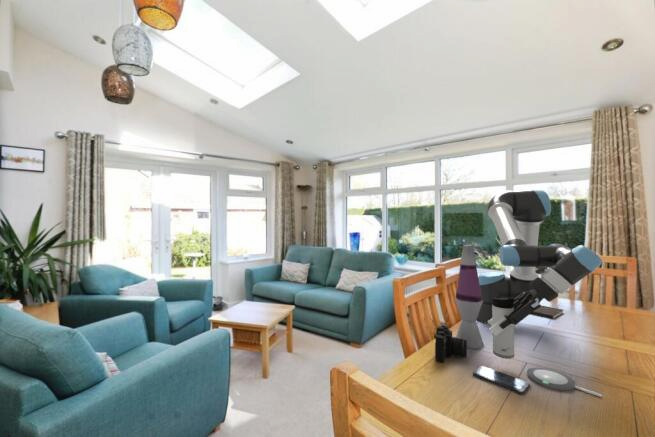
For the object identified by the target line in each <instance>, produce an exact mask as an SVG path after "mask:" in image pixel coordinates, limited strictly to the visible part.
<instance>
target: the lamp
mask: <svg viewBox="0 0 655 437" xmlns="http://www.w3.org/2000/svg"><path fill="white" fill-rule="evenodd" d="M459 264H460V265H459V274H458V279H457V285H456V286H457V287H456V292H455V298H454V300H455V303H456V307H457V308H458V311H459V315H460V316H461V321H460V324H459V327H458V329H457V334H456V338H459V339H464V340H467V349H474V350H475V349H481V348H483V347H485V343H484V340H483V338H482V334H481V331H480V329H479V328H480V327H479V325H478V322H477V316H478V314H479V311H480V308H481V305H482V303H483V301H482V296H481V290H480V284H479V279H478V277H479V275H478V270H477V268H478V267H477V261H476V256H475V250H474V245H473V244H463V245H462V250H461V258H460V263H459Z"/></svg>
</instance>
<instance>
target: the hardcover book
mask: <svg viewBox="0 0 655 437" xmlns="http://www.w3.org/2000/svg"><path fill="white" fill-rule="evenodd" d="M540 305H541V307H540V308H538V309H536V310H534V311H533V312H532V313H531V314H530V315H533V316H538V317H541V318H546V319H551V320H554V319H555V318H557V317H559V316H561V315H562V314H564V312H563V311H564V309H562V308H557V307H552V306H546V305H542V304H540Z"/></svg>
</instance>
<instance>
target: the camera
mask: <svg viewBox="0 0 655 437" xmlns="http://www.w3.org/2000/svg"><path fill="white" fill-rule="evenodd" d="M433 335H434V336H433V337H434V339H435V343H434V359H435V362H436V363H440V364H441V363H442V364H444V363H445V361H446V358H452V357H459V358H465V359H466V358H467V355H468V348H467V340H464V339H459V338H456V337H455V336H453V331H452V330H451V329H449V326H447V325H446V324H443V323H442V324H441V325H438V326H437V328H436V333H435V332H434V334H433Z"/></svg>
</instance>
